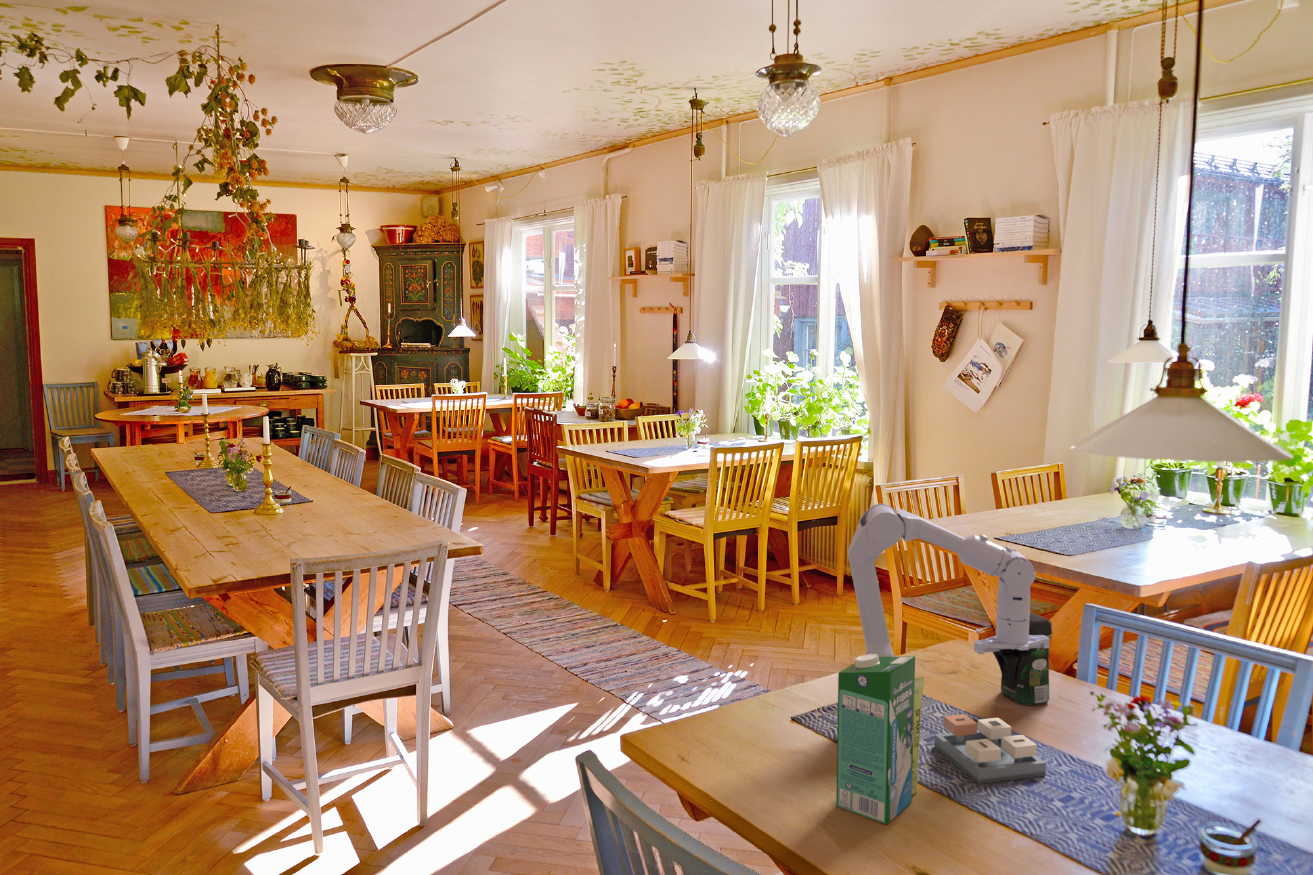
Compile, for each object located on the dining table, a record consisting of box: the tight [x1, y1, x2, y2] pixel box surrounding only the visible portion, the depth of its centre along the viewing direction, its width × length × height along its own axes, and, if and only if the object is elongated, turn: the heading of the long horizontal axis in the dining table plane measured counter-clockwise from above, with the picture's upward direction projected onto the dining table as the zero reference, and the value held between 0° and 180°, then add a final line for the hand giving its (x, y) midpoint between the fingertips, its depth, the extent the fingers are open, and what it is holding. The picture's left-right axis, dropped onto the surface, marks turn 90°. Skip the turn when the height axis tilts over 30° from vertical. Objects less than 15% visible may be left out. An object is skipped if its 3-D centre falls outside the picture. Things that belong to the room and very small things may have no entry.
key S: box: [965, 739, 1001, 768], centre depth 159 cm, size 4×4×4 cm
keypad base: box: [934, 729, 1047, 785], centre depth 164 cm, size 13×14×2 cm
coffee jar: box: [1000, 611, 1053, 707], centre depth 191 cm, size 10×8×19 cm
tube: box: [912, 676, 925, 796], centre depth 153 cm, size 6×5×20 cm
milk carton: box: [835, 653, 916, 825], centre depth 148 cm, size 9×9×25 cm
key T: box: [1001, 734, 1038, 763], centre depth 161 cm, size 4×4×4 cm
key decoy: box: [943, 713, 978, 742], centre depth 166 cm, size 4×4×4 cm
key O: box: [977, 717, 1012, 746], centre depth 168 cm, size 4×4×4 cm
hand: (1010, 687), depth 171 cm, fingers closed
